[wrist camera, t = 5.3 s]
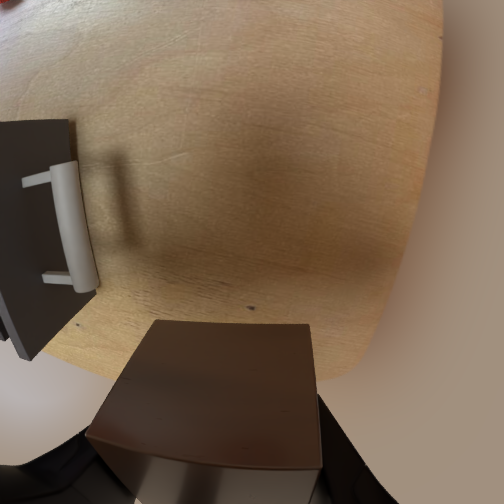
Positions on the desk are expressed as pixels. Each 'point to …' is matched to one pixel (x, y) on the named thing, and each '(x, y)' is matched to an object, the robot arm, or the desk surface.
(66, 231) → the drawer
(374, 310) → the desk surface
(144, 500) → the block
